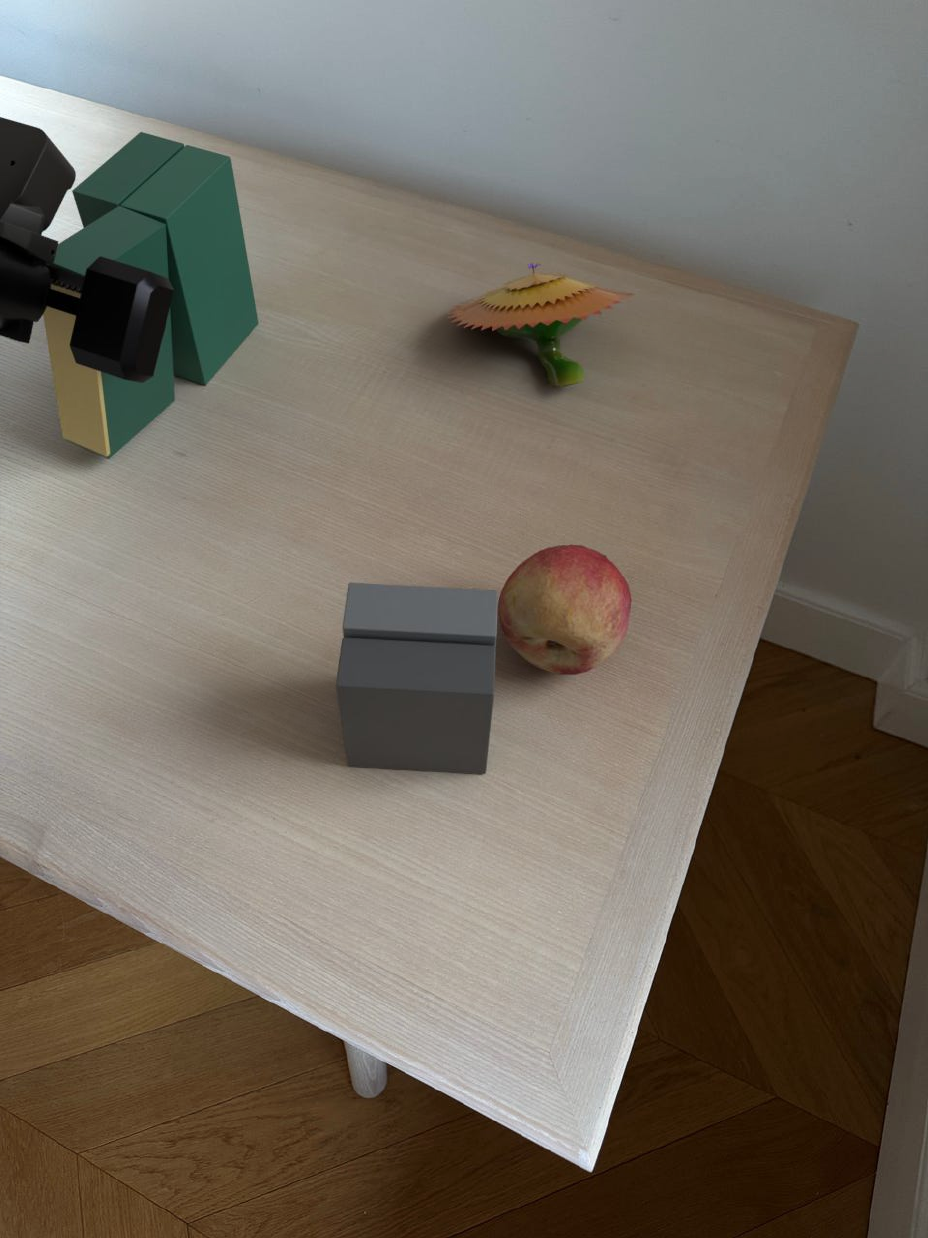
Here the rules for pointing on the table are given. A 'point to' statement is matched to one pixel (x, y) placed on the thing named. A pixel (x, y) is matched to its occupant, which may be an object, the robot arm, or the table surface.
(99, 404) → the green book
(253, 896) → the table surface
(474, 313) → the flower
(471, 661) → the grey grooved block
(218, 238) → the green grooved box
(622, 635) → the fruit
